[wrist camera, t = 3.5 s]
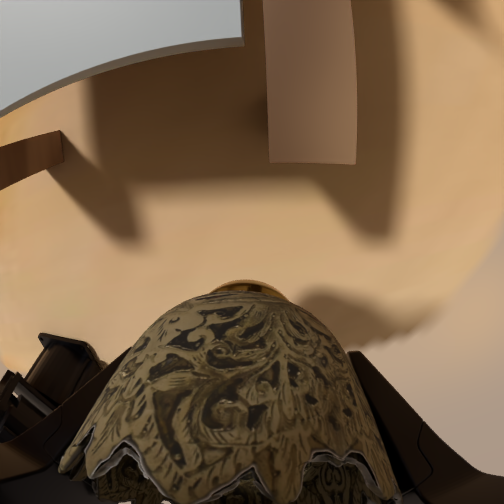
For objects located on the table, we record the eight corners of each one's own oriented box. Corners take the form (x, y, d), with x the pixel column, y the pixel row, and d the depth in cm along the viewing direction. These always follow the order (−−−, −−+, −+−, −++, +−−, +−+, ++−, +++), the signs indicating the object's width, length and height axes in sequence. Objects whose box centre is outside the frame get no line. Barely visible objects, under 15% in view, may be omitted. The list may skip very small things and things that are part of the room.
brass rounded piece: (381, 290, 10) (458, 489, 3) (270, 387, 13) (265, 538, 6) (211, 176, 8) (45, 437, 1) (131, 321, 12) (58, 482, 4)
